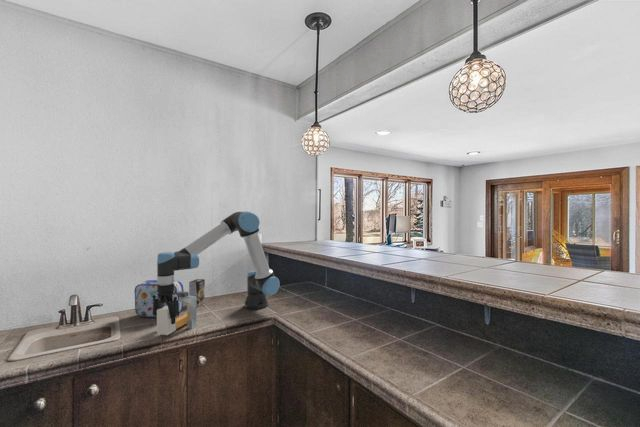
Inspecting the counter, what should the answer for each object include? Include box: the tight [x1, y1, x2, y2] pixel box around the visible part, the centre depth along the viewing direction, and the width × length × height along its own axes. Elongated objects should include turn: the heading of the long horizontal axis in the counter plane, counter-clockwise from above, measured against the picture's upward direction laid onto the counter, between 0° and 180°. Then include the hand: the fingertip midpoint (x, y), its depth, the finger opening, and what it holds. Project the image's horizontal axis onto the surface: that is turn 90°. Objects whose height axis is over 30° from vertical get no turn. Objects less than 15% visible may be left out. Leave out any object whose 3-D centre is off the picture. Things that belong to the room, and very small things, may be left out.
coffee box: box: [188, 278, 206, 308], centre depth 200 cm, size 9×6×16 cm
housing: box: [172, 291, 197, 330], centre depth 162 cm, size 14×4×18 cm, turn 78°
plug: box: [156, 306, 187, 336], centre depth 157 cm, size 21×6×12 cm, turn 167°
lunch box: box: [134, 279, 185, 319], centre depth 178 cm, size 28×10×22 cm, turn 89°
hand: (165, 329), depth 149 cm, fingers closed on plug, 6 cm apart
